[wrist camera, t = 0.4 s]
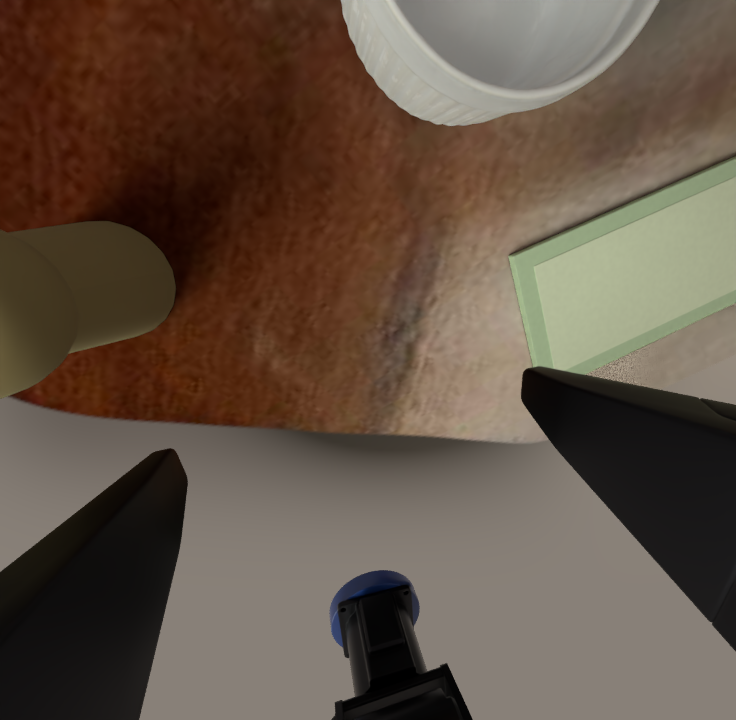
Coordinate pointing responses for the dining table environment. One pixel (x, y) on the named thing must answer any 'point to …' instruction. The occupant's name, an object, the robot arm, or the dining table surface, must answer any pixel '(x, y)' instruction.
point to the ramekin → (488, 51)
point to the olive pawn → (75, 294)
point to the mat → (630, 273)
